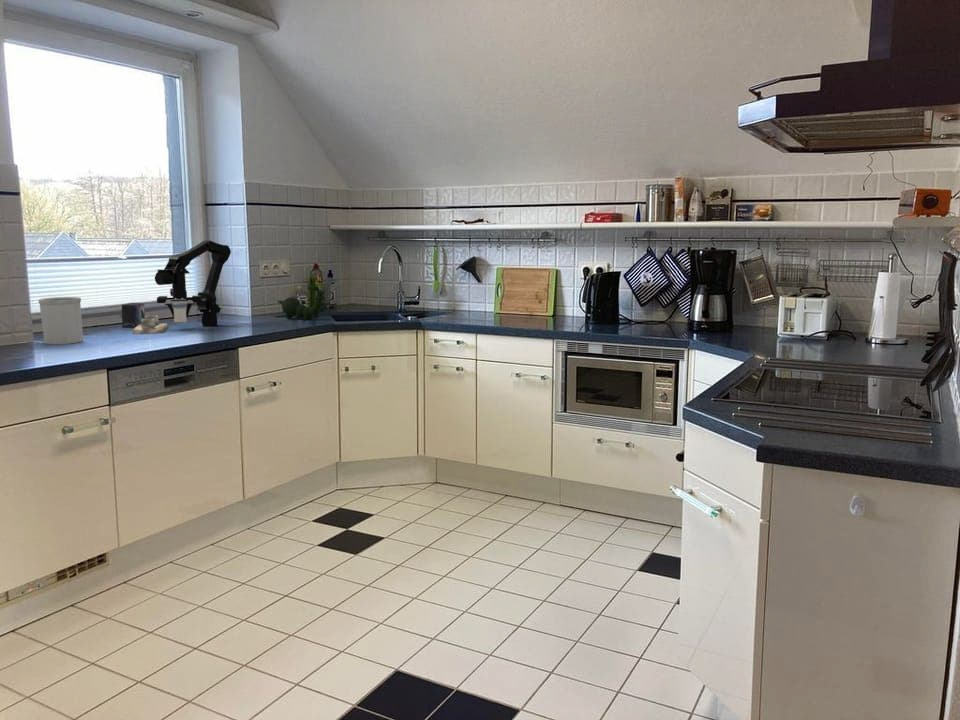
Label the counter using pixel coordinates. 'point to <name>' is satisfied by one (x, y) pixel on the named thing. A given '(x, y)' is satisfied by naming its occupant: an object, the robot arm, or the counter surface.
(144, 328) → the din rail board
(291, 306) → the toy figurine
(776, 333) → the counter surface
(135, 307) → the small box
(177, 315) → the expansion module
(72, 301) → the utensil holder
